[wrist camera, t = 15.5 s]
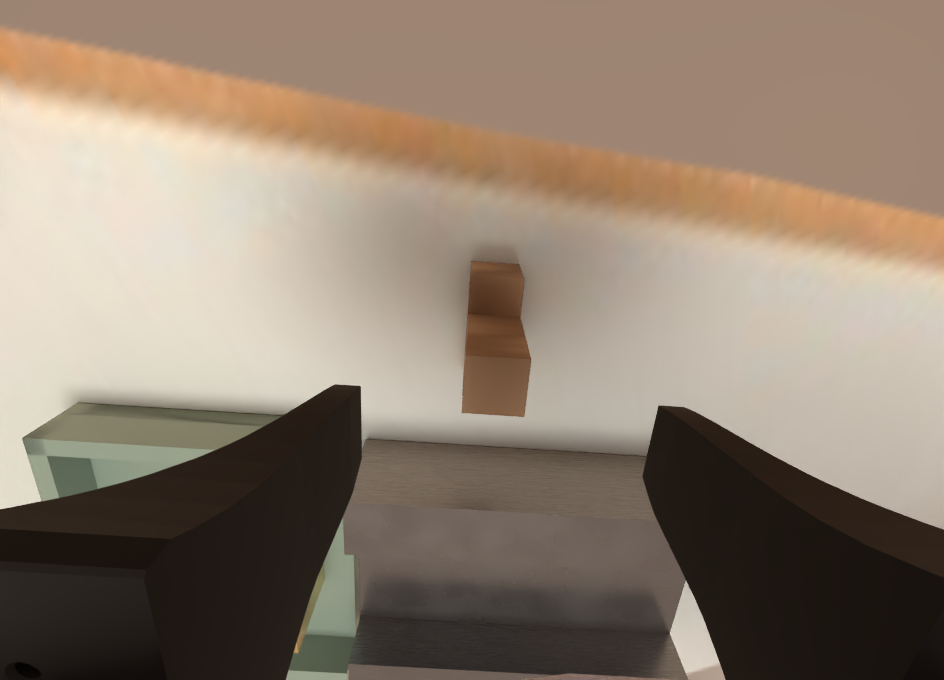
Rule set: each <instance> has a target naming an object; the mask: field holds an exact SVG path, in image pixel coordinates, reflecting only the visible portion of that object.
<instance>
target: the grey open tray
mask: <svg viewBox="0 0 944 680" xmlns="http://www.w3.org/2000/svg"><path fill="white" fill-rule="evenodd" d="M646 458H647V456H631V455H614V454H598V453H582V452H566V451H550V450H534V449H518V448H502V447H486V446H470V445H454V444H438V443H422V442H405V441H389V440H373V439H366V441H365V444H364V446H363V449H362V460H361V464H360V468H359V471H358V475H357V479H356V483H355V486H354V490H353V494H352V496H351V499H350V501H349V504H348V506H347V508H346V511H345V513H344V516H343V533H344V555H359V588H360V618H359V622H358V626H357V630H356V635H355V639H354V643H353V647H352V651H351V655H350V659H349V663H348V674H349V680H522V679H529V678H537V677H545V676H553V675H561V674H569V673H570V674H588V675H606V676H623V677H641V678H659V679H677V680H688V678H687V676H686V673H685V671H684V668H683V666H682V663H681V661H680V658H679V656H678V653H677V651H676V648H675V646H674V643H673V641H672V638H671V636H670V630H671V627H672V623H673V620H674V617H675V613H676V610H677V607H678V603H679V600H680V597H681V593H682V590H683V587H684V584H685V580H686V579H685V577H684V575H683V573H682V571H681V569H680V567H679V565H678V563H677V561H676V559H675V557H674V554H673V552H672V550H671V548H670V546H669V544H668V542H667V540H666V538H665V536H664V534H663V532H662V530H661V528H660V525H659V523H658V521H657V519H656V517H655V515H654V512H653V509H652V506H651V503H650V500H649V497H648V494H647V491H646V487H645V484H644V481H643V477H642V475H643V471H644V466H645V462H646Z"/></svg>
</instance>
